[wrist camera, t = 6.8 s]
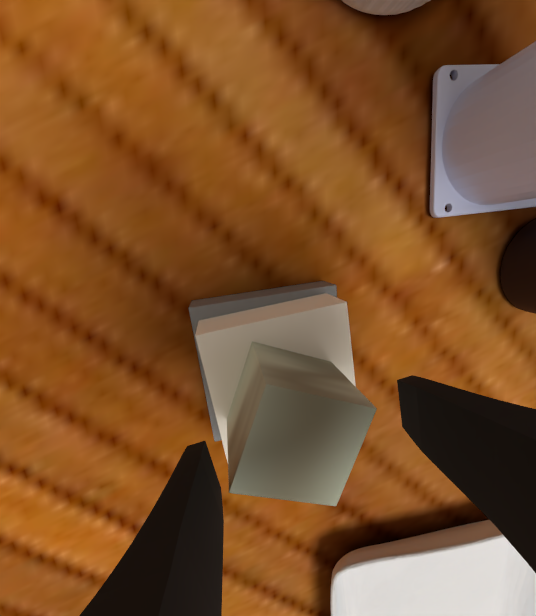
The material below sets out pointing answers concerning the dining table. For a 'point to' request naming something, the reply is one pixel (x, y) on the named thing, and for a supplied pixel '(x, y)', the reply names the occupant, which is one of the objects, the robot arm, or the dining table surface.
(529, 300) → the bottle
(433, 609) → the salad plate
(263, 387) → the sage cube
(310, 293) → the charcoal slab
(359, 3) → the ramekin
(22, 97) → the dining table surface
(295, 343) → the cream slab
